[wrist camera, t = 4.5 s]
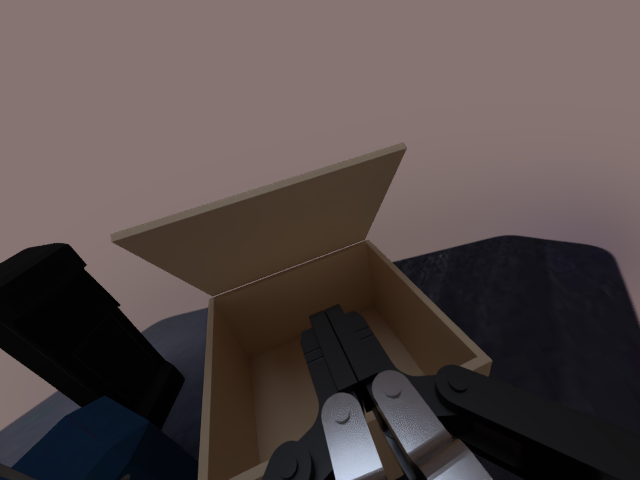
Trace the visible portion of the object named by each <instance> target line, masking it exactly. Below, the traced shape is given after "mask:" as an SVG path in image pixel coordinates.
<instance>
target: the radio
mask: <svg viewBox="0 0 640 480" xmlns="http://www.w3.org/2000/svg"><path fill="white" fill-rule="evenodd" d="M198 467H199V462H198V461H197V460H195V459H194V458H193V457H192V456H191V455H189V454H188V453H187V452H186V451H185V450H184V449H182V448H181V447H180V446H179V445H178V444H176V443H175V442H174V441H173V440H172V439H170V438H169V437H168V436H167V435H166V434H164V433H163V432H162V431H161V430H160V429H158V428H157V427H156V426H155V425H154V424H152V423H151V422H150V421H148V420H147V419H145V418H143V417H141V416H140V415H138V414H136V413H134V412H133V411H131V410H129V409H127V408H126V407H124V406H122V405H120V404H119V403H117V402H115V401H113V400H112V399H110V398H108V397H106V396H103V397H101V398H99V399H97V400H95V401H93V402H91V403H89V404H87V405H86V406H84V407H82V408H80V409H78V410H76V411H74V412H72V413H70V414H68V415H66V416H65V417H64V418H62V419H61V420H60V421H59V422H58V423H57V424H56V425H55V426H54V427H53V428H52V429H51V430H50V431H49V432H48V433H47V434H46V435H45V436H44V437H43V438H42V439H41V440H40V441H39V442H38V443H36V444H35V445H34V446H33V447H32V448H31V449H30V450H29V451H28V452H27V453H26V454H25V455H24V456H23V457H22V458H21V459H20V460H19V461H18V462H17V463H16V464H15V465H14V466H13V467H12V468H9V467H7V466H5V465H2V464H0V476H2V477H1V478H0V480H198Z"/></svg>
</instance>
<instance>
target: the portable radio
mask: <svg viewBox="0 0 640 480" xmlns="http://www.w3.org/2000/svg"><path fill="white" fill-rule="evenodd" d="M85 266H86V263H85V262H84V261H83V260H82V259H81V258H80V257H79V255H78V254H77V253H76V252H75V251H74V250H73V248H72V247H71V246H70V245H69V244H64V243H53V244H48V245H42V246H36V247H30V248H27V249H25V250H23V251H21V252H19V253H17V254H16V255H14V256H12V257H10V258H9V259H7V260H5V261H4V262H2V263H0V348H1V349H2V350H4V351H5V352H6V353H8V354H9V355H10V356H12V357H13V358H15V359H16V360H17V361H19V362H20V363H22V364H23V365H24V366H26V367H27V368H29V369H30V370H31V371H33V372H34V373H35V374H37V375H39V376H40V377H41V378H43V379H44V380H45V381H47V382H48V383H49V384H51V385H52V386H53V387H55V388H56V389H57V390H59V391H60V392H61V393H63V394H64V395H66V396H67V397H68V398H70V399H71V400H72V401H74V402H75V403H76V404H78V405H79V406H80V407H84V406H86V405H87V404H89V403H91V402H93V401H95V400H97V399H99V398H101V397H103V396H106V397H108V398H110V399H112V400H113V401H115V402H117V403H119V404H120V405H122V406H124V407H126V408H127V409H129V410H131V411H133V412H134V413H136V414H138V415H140V416H141V417H143V418H145V419H147V420H148V421H150V422H151V423H152V424H154V425H155V426H156V427H157V428H158V429H160V428H161V427H162V425H163V423H164V421H165V419H166V417H167V415H168V413H169V411H170V409H171V407H172V405H173V403H174V401H175V399H176V397H177V395H178V392H179V390H180V388H181V386H182V384H183V382H184V377H183V375H182V374H181V373H180V372H179V371H178V370H177V368H176V367H175V366H174V365H172V364H171V363H169V362H167V361H165V359H164V358H163V357H162V356H161V355H160V354H159V353H158V352H157V351H156V350H155V348H154V347H153V346H152V345H151V344H150V343H149V342H148V341H147V339H146V338H145V337H144V336H143V335H142V334H141V333H140V332H139V330H138V329H137V328H136V327H135V326H134V325H133V324H132V323H131V322H130V320H129V319H128V318H127V317H126V316H125V315H124V314H123V313H122V311H121V310H120V309H119V308H118V306H120V304H119V303H118V302H117V301H116V300H115V299H114V298H113V297H112V296H111V295H110V294H109V293H108V292H107V291H106V290H105V289H104V288H103V287H102V286H101V285H100V284H99V283H98V282H97V281H96V280H95V279H94V278H93V277H92V276H91V275H90V274H89V273H88V272H87V271H85V270H84V267H85Z"/></svg>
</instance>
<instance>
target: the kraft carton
mask: <svg viewBox="0 0 640 480" xmlns="http://www.w3.org/2000/svg"><path fill="white" fill-rule="evenodd" d="M337 304H339V305H340V306H341V308H342V309H343V311H344V313H345V314H346V313H348V312H351V311H353V310H354V311H356V312H357V313H358V314H360V315H361V316H363V317H364V319H365V320H366V322H367V324H368V325H369V327H370V328H371V330H372V331H373V333H374V335H375V336H376V338H377V339H378V341H379V342H380V344H381V346H382V347H383V349H384V350H385V352H386V353H387V355H388V356H389V358H390V360H391V361H392V363H393V364H394V365H395V367H396V368H397V369H399V370H400V371H401V372H403V373H405V374H407V375H411V376H426V375H436V374H437V372H438V370H439V369H440V368H442V367H443V366H446V365H458V366H461V367H464V368H467V369H469V370H472V371H474V372H477V373H480V374H482V375H485V376H489V372H490V368H491V364H492V360H491V359H490V358H489V357H488V356H487V355H486V354H485V353H484V352H483V351H482V350H481V349H480V348H479V347H478V346H477V345H476V344H475V343H474V342H473V341H472V340H471V339H470V338H469V337H468V336H467V335H466V334H465V333H464V332H463V331H462V330H461V329H460V328H459V327H457V326H456V325H455V324H454V323H453V322H452V321H451V320H450V319H449V318H448V317H447V316H446V315H445V314H444V313H443V312H442V311H441V310H440V309H439V308H438V307H437V306H436V305H435V304H434V303H433V302H432V301H431V300H430V299H429V298H428V297H427V296H426V295H425V294H424V293H423V292H422V291H421V290H420V289H419V288H418V287H417V286H416V285H414V284H413V283H412V282H411V281H410V280H409V279H408V278H407V277H406V276H405V275H404V274H403V273H402V272H401V271H400V270H399V269H398V268H397V267H396V266H395V265H394V264H393V263H392V262H391V261H390V260H389V259H388V258H387V257H386V256H385V255H384V254H383V253H381V251H380V250H379V249H377V247H376V246H375V245H374V244H372V243H371V242H370V241H369V240H366V241H363V242H361V243H358V244H355V245H353V246H350V247H347V248H345V249H342V250H340V251H337V252H334V253H331V254H329V255H326V256H324V257H321V258H318V259H315V260H313V261H310V262H307V263H305V264H302V265H299V266H297V267H294V268H291V269H289V270H286V271H283V272H280V273H278V274H275V275H272V276H270V277H267V278H264V279H262V280H259V281H256V282H254V283H251V284H248V285H246V286H243V287H240V288H238V289H235V290H232V291H230V292H227V293H224V294H222V295H219V296H216V297H214V298H211V299H209V306H208V322H207V338H206V354H205V370H204V386H203V402H202V418H201V435H200V451H199V467H198V480H262V478H263V475H264V473H265V470H266V468H267V465H268V462H269V460H270V458H271V456H272V454H273V452H274V451H275V450H276V449H277V447H279V446H280V445H281V444H283V443H284V442H287V441H298V440H299V439H300V438H301V437H302V436H303V435H304V434H305V433H306V432H307V431H308V430H309V429H310V428H311V427H312V426H313V424H314V423H315V421H316V418H317V415H318V411H319V402H318V398H317V395H316V391H315V388H314V385H313V382H312V379H311V376H310V372H309V369H308V366H307V363H306V360H305V357H304V354H303V350H302V347H301V344H300V341H301V334H302V332H303V331H305V330H308V329H310V328H312V325H311V322H310V319H309V316H310V315H312V314H315V313H317V312H320V311H322V310H323V311H324V309H327V308H329V307H332V306H334V305H337ZM364 412H365V418H366V422H367V426H368V428H369V431H370V434H371V436H372V439H373V442H374V445H375V447H376V450H377V453H378V456H379V458H380V461H381V464H382V467H383V469H384V472H385V474H386V477H387V479H388V480H395V479H397V478H399V477H401V476H403V475H404V474H403V472H402V470H401V468H400V467H399V465H398V463H397V461H396V459H395V458H394V456H393V454H392V452H391V450H390V448H389V447H388V445H387V443H386V441H385V439H384V438H383V436H382V434H381V432H380V429H379V425H378V422H377V420H376V418H375V416H374V413H373V411H370V412H368V413H366V411H365V409H364Z"/></svg>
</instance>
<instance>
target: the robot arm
mask: <svg viewBox="0 0 640 480" xmlns="http://www.w3.org/2000/svg"><path fill="white" fill-rule="evenodd" d="M309 319H310V322H311V325H312V328H310V329H308V330H305V331H303V332H302V334H301V341H300V344H301V347H302V350H303V354H304V357H305V360H306V363H307V366H308V369H309V372H310V376H311V379H312V382H313V385H314V388H315V391H316V395H317V398H318V402H319V411H318V415H317V418H316V421H315V423H314V424H313V426H312V427H311V428H310V429H309V430H308V431H307V432H306V433H305V434H304V435H303V436H302V437H301V438H300V439H299V440H298V441H287V442H284V443H283V444H281V445H280V446H279V447H277V449H276V450H275V451H274V452H273V454H272V456H271V458H270V460H269V462H268V465H267V468H266V470H265V473H264V475H263V478H262V480H388V479H387V477H386V474H385V472H384V469H383V467H382V464H381V461H380V458H379V456H378V453H377V450H376V447H375V445H374V442H373V439H372V436H371V434H370V431H369V428H368V426H367V422H366V418H365V412H364V409H365V411H366V413H368V412H370V411H373V413H374V416H375V418H376V420H377V422H378V425H379V429H380V432H381V434H382V436H383V438H384V439H385V441H386V443H387V445H388V447H389V448H390V450H391V452H392V454H393V456H394V458H395V459H396V461H397V463H398V465H399V467H400V468H401V470H402V472H403V474H404V476H405V477H406V479H407V480H493V479H492V478H491V477H490V475H489V474H488V473H487V471H486V470H485V469H484V468H483V466H482V465H481V464H480V462H479V461H478V460H477V459H476V457H475V456H474V455H473V454H472V452H473V453H475V454H477V455H479V456H481V457H483V458H485V459H487V460H489V461H490V462H492V463H494V464H496V465H498V466H500V467H502V468H504V469H506V470H507V471H509V472H511V473H513V474H515V475H517V476H519V477H521V478H523V479H524V480H640V434H638V433H635V432H633V431H630V430H627V429H625V428H622V427H619V426H617V425H614V424H612V423H609V422H606V421H604V420H601V419H598V418H596V417H593V416H590V415H588V414H585V413H583V412H580V411H577V410H575V409H572V408H569V407H567V406H564V405H561V404H559V403H556V402H554V401H551V400H548V399H546V398H543V397H540V396H538V395H535V394H532V393H530V392H527V391H525V390H522V389H519V388H517V387H514V386H511V385H509V384H506V383H503V382H501V381H498V380H496V379H493V378H490V377H488V376H485V375H482V374H480V373H477V372H474V371H472V370H469V369H467V368H464V367H461V366H458V365H446V366H443V367H442V368H440V369H439V370H438V372H437V374H436V375H426V376H411V375H407V374H405V373H403V372H401V371H400V370H399V369H397V368H396V367H395V365H394V364H393V363H392V361H391V360H390V358H389V356H388V355H387V353H386V352H385V350H384V349H383V347H382V346H381V344H380V342H379V341H378V339H377V338H376V336H375V335H374V333H373V331H372V330H371V328H370V327H369V325H368V324H367V322H366V320H365V319H364V317H363V316H361V315H360V314H358V313H357V312H356V311H354V310H353V311H351V312H348V313H346V314H345V313H344V311H343V309H342V308H341V306H340V305H339V304H337V305H334V306H332V307H329V308H327V309H324V311H323V310H322V311H320V312H317V313H315V314H312V315H310V316H309ZM471 451H472V452H471ZM1 477H2V476H0V478H1Z"/></svg>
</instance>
